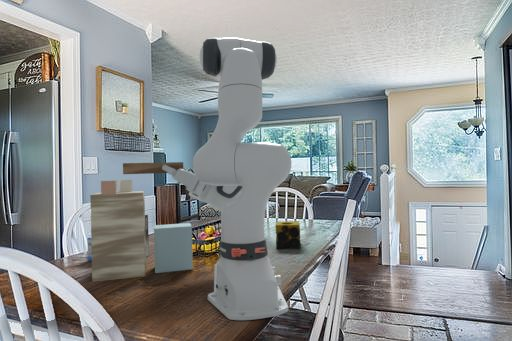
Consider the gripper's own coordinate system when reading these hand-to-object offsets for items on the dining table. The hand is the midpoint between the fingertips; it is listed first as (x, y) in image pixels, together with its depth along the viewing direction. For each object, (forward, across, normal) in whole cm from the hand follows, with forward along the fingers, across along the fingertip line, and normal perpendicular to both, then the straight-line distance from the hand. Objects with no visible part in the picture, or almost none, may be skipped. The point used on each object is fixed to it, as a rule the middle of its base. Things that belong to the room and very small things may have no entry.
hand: (162, 166), depth 116 cm
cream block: (+6, -5, +13) cm, 15 cm away
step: (-20, 0, +28) cm, 34 cm away
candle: (-61, -16, +4) cm, 64 cm away
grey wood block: (-5, 0, +36) cm, 37 cm away
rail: (+1, 0, +3) cm, 4 cm away
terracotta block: (+10, +4, +15) cm, 19 cm away
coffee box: (-8, -20, +35) cm, 41 cm away
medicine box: (+3, -22, +41) cm, 47 cm away
